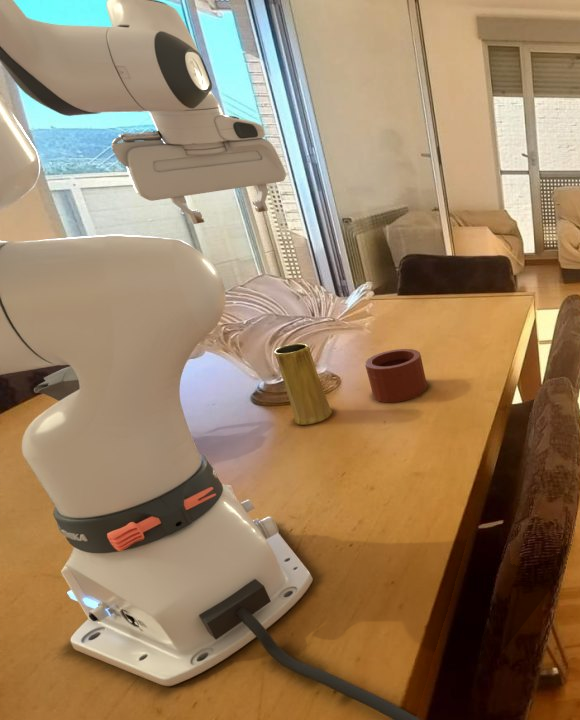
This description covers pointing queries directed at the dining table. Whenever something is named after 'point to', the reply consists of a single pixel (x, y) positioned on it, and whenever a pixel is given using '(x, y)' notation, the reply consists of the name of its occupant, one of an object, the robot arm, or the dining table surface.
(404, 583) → the dining table surface
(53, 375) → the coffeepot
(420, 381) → the jar
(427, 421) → the dining table surface
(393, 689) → the dining table surface
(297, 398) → the bamboo tube section
